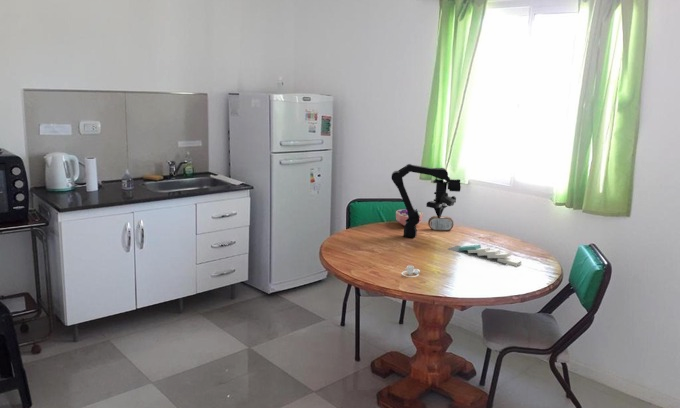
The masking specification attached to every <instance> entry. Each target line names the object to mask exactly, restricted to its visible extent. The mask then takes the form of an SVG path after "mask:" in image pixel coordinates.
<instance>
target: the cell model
mask: <svg viewBox="0 0 680 408" xmlns="http://www.w3.org/2000/svg"><path fill="white" fill-rule="evenodd" d="M417 211H418V214H419V215H420V218H419V223H418V224H417V225H419V224H420V223H421V222H422V221H423V217H424V216H423V215H424V213H423V212H422V211H421V210H418V209H417ZM395 218H396V222H398V223H399V224H401V225H402V226H403V227H404V226H405V220H407V219H408V218H409V217H408V212H407V209H406V208H405V209H398V210H396V211H395ZM417 225H416V226H417Z"/></svg>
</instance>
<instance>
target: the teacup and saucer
mask: <svg viewBox="0 0 680 408" xmlns="http://www.w3.org/2000/svg"><path fill="white" fill-rule="evenodd" d="M420 272H421V271H420V269H418V268H415V266H414V265H411V264H409V265H407V266H406V267H405V269H404V270H403V271H402V272H400V273H401V275H402V276H404V277H407V278H417V277H418V276H420ZM406 274H407V275H406ZM412 275H413V276H412Z"/></svg>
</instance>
